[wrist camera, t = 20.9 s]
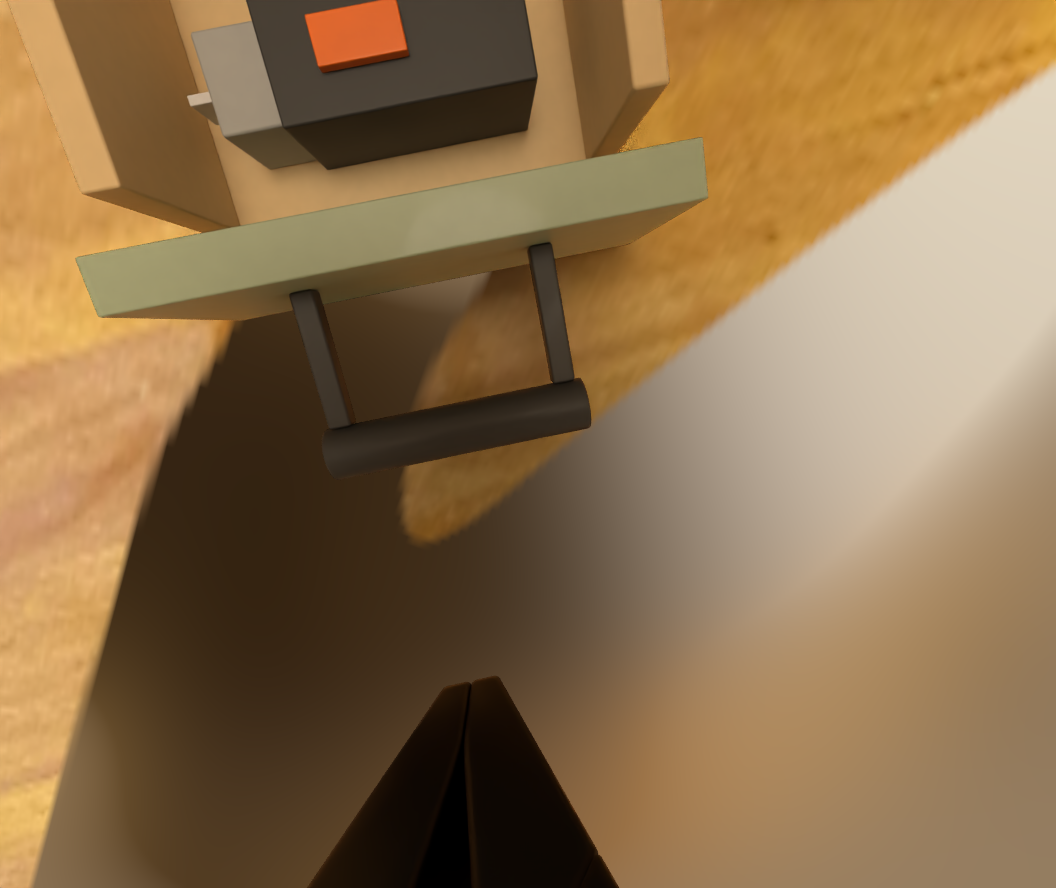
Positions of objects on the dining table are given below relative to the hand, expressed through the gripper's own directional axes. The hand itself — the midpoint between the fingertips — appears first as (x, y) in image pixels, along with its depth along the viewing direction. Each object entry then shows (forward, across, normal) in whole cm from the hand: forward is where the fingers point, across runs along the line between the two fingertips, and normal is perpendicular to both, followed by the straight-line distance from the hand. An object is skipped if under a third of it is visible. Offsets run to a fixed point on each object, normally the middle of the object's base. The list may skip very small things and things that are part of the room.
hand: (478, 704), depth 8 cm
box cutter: (+10, 0, -12) cm, 15 cm away
